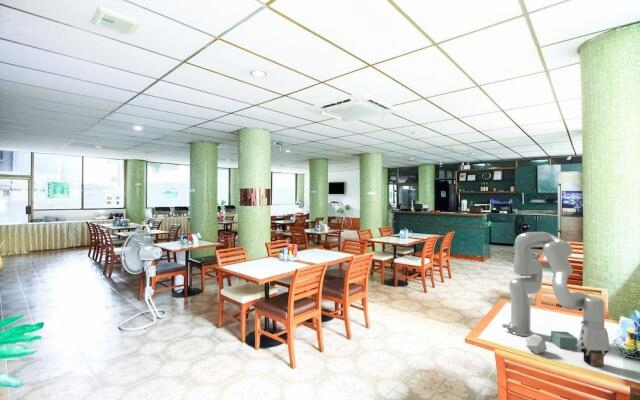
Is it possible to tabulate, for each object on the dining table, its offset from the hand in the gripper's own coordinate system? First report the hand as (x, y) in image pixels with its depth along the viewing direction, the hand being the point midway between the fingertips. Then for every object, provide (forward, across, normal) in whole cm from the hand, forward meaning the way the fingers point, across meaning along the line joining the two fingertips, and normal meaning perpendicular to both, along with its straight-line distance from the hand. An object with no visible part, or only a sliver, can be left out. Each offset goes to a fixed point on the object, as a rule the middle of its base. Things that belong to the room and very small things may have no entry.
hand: (593, 362), depth 148 cm
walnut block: (+1, 0, 0) cm, 1 cm away
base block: (+1, -1, +19) cm, 19 cm away
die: (+1, -20, +10) cm, 22 cm away
